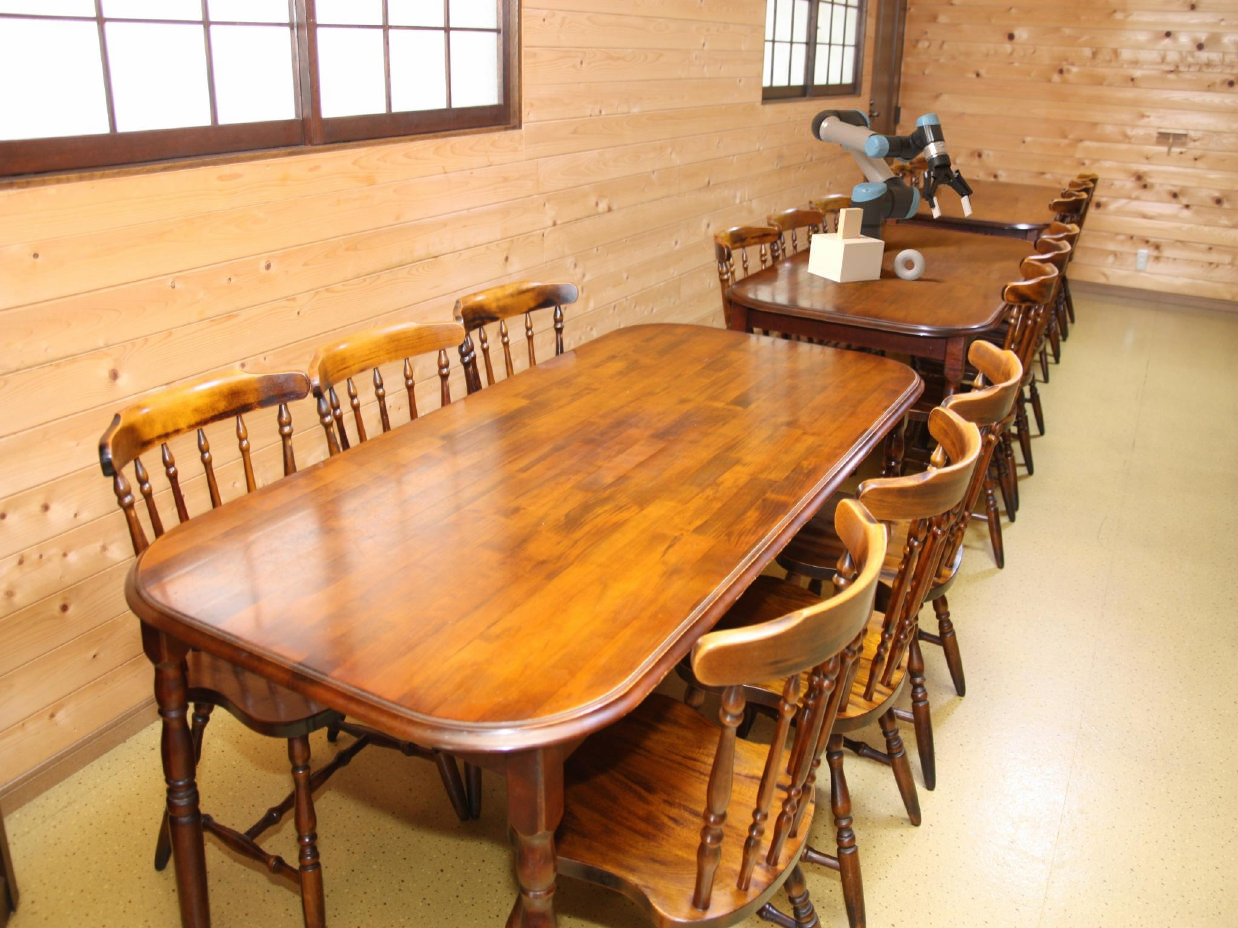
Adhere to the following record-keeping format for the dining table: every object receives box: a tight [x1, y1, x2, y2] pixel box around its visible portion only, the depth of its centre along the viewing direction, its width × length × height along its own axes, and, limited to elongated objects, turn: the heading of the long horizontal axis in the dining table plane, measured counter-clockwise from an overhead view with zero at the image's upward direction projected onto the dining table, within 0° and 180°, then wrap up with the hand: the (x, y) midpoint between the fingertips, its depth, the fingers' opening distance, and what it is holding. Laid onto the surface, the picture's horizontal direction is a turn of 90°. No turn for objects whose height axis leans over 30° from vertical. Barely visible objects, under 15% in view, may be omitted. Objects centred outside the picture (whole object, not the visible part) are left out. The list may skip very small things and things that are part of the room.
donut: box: [893, 248, 926, 281], centre depth 327 cm, size 10×3×10 cm, turn 58°
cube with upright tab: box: [807, 207, 886, 283], centre depth 326 cm, size 16×16×21 cm
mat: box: [806, 270, 881, 284], centre depth 330 cm, size 17×17×1 cm
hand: (953, 216), depth 350 cm, fingers open, 13 cm apart
